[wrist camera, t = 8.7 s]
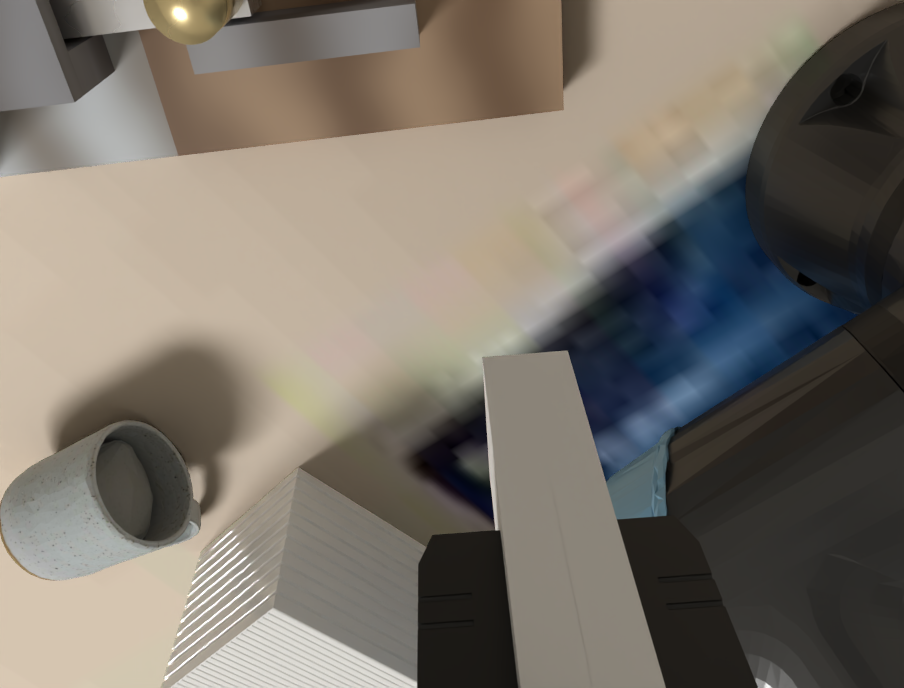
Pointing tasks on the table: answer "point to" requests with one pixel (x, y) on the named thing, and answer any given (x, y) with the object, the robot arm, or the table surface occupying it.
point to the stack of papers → (301, 598)
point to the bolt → (150, 17)
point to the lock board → (269, 78)
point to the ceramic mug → (99, 503)
